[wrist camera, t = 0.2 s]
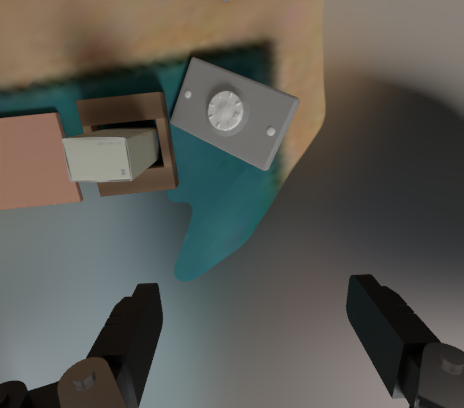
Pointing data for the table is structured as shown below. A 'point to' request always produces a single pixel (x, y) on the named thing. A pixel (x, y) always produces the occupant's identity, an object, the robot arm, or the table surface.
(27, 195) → the terracotta mat
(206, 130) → the light switch
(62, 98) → the table surface
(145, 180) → the frame
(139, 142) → the skincare box
